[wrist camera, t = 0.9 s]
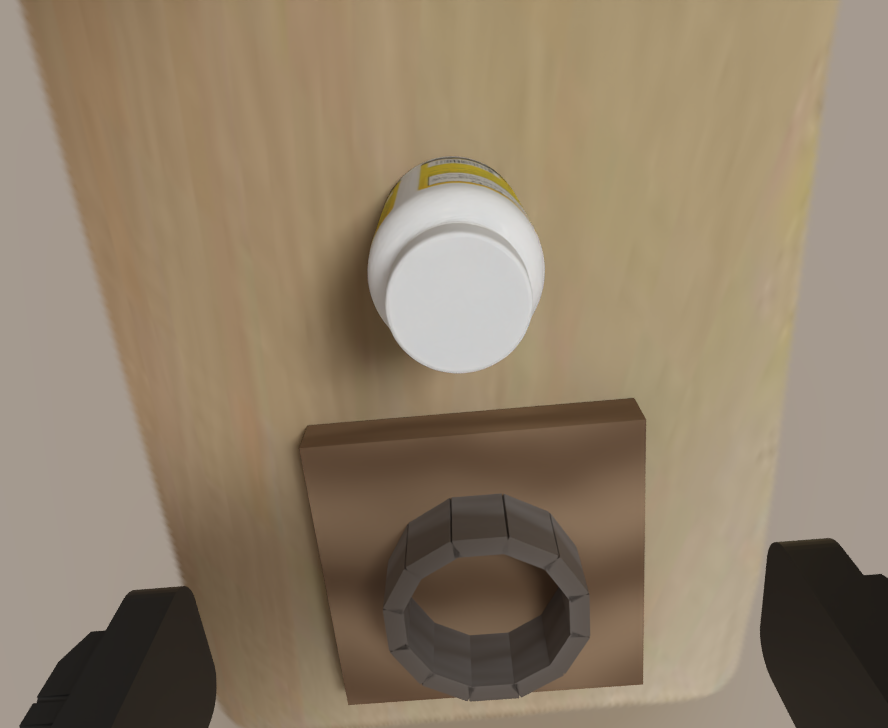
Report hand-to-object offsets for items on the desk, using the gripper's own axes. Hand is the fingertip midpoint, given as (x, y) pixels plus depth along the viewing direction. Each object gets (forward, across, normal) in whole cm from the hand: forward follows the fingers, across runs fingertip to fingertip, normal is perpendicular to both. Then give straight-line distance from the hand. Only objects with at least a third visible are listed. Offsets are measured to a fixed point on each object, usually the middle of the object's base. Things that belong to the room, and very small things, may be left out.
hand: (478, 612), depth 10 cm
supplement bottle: (+20, 0, -1) cm, 21 cm away
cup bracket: (+20, 0, +14) cm, 25 cm away
